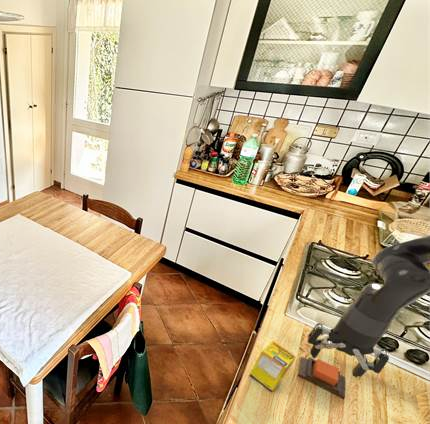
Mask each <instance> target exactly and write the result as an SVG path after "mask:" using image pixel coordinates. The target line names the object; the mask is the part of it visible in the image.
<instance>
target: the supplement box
mask: <svg viewBox="0 0 430 424" xmlns="http://www.w3.org/2000/svg"><path fill="white" fill-rule="evenodd" d="M296 358H297V355H295V354H294V353H293V352H291V351H289V350H288V349H286V348H285V347H283V346H282V345H281V344H279V343H278V342H276V341H274V340H272V341H271V342H270V343H269V344H268V345H266V347H264V348H263V350H262V351H261V352H260V354H259V356H258V357H257V360H256V361H255V363H254V365H253V367H252V369H251V370H250V373H249V377H251V378H252V379H253V380H254V381H256V382H257V383H259V384H260V385H261V386H263V387H264V388H265V389H266V390H268V391H269V392H270V393H272V392H273V391H274V390H275V389H276V388H277V387H278V386H279V384H280V383H281V382H282V380H283V379H284V378H285V376H286V374H287V373H288V371H289V370H290V368H291V366H292V365H293V363H294V362H295V360H296Z"/></svg>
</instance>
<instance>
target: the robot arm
mask: <svg viewBox="0 0 430 424" xmlns="http://www.w3.org/2000/svg"><path fill="white" fill-rule="evenodd" d="M429 263H430V235H427V236H422V237H418V238H413V239H410V240H407V241H403V242H400V243H396V244H393V245H390V246H387V247H385V248H382V249H381V250H379V251H378V252H377V253H376V254H375V255H374V256H373V257H372V260H371V265H372V268H373V269H374V271H375V272H376V273H377V274H378V275H379V277H381V279H382V280H383V284H381V283H374V282H373V283H368V284H366V285H364V286H363V287H362V288H361V290H360V291H359V293H358V294H357V296H356V297H355V298H354V300H353V301H352V303H350V304H349V305H348V307H347V308H346V309H345V311H344V312H343V314H342V316H340V318H339V320H338V322H337V323H336V324H335V326H334V327H333V328H332V329H329V328H327V327H325V326H324V325H323V324H322V323H321V322H317V323H316V324H315V326H314V327H313V329H312V330H311V331H310V332H309V334H307V343H308V344H309V345H312V346H311V348H310V352H309V353H310V355H311V358H312V359H316V358H317V357H318V356H319V354H320V352H321V350H324V349H327V350H332V349H335V350H336V351H339V352H342V353H345V354H347V355H348V356H350V357H353V356H354V357H355V358H356V360H357V362H358V363H357V364H356V365H355V367H354V368H353V369H352V376H353V377H354V378H358V377H359V378H361V377H363V376H364V375H365V373H367V371H372V372H374V373H375V374H380V373H381V372H382V370H383V369H384V367H385V366H386V365H387V363H388V362H389V360H390V356H389V351H388V349H385V348H381V349H378V348H375V346H377V344H378V343H379V341H380V340H381V339H382V338H383V337H384V335H386V334H387V333H388V330H389V329H390V327H391V326H392V324H393V322H394V320H395V319H396V318H397V316H398V315H399V314H400V312H401V311H402V310H403V308H406V307H407V306H409V305H411V304H412V303H415V302H416V301H417V300H419V299H421V298H422V297H424V296H426V295H428V294H429V293H430V268H429V267H428V266H426V264H429ZM324 335H327V336H324ZM323 336H324V337H323ZM319 337H321V338H319ZM371 354H373V355H374V360H373V361H372V362H371V361H368V358H367V356H366V355H371Z"/></svg>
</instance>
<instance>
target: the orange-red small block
mask: <svg viewBox="0 0 430 424" xmlns="http://www.w3.org/2000/svg"><path fill="white" fill-rule="evenodd" d="M315 360H316V362H315V363H314V365H313V373H312V376H314V377H316V378H318V379H320V380H322V381H324V382H326V383H328V384H330V385H332V386H335V384H336V383H337V382H338V371H339V368H338V367H336V366H334V365H332V364H330V363H328V362H326V361H323V360H321V359H320V358H317V359H315Z"/></svg>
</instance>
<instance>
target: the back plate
mask: <svg viewBox="0 0 430 424" xmlns="http://www.w3.org/2000/svg"><path fill="white" fill-rule="evenodd" d="M316 360H317V359H315V358H313V357H308V358H306V357H304V356H300V358H299V364H298V371H297V377H299V378H301V379H303V380H305V381H307V382H308V383H311V384H312V385H314V386H316V387H318V388H320V389H323V390H325V391H326V392H328V393H330V394H333V395H334V396H336V397H338V398H340V399H342V400H344V399H345V398H346V377H345V376H343V375H342V374H341V371H339V370H338V382H337V383H336V384H335V386H332V385H330V384H328V383H326V382H324V381H322V380H320V379H318V378H316V377H314V376H312V373H313V365H314V363H315V362H316Z"/></svg>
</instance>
